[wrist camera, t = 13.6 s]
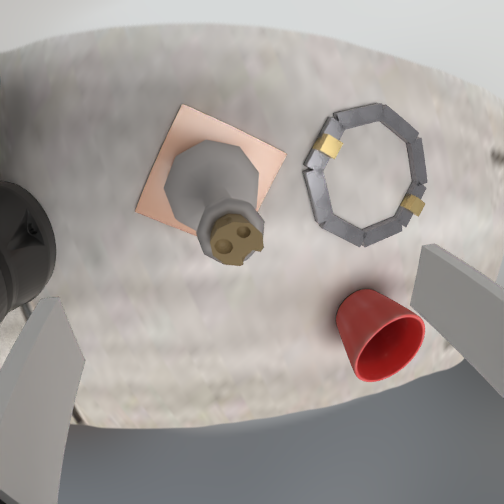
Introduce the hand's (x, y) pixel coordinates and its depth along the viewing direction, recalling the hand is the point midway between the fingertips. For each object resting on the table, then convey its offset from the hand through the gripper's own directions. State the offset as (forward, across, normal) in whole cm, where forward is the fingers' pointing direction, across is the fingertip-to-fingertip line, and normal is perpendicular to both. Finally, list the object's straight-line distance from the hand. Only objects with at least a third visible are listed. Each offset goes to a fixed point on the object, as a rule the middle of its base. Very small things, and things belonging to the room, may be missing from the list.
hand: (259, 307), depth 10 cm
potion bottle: (+24, 0, 0) cm, 24 cm away
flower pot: (+24, +20, -21) cm, 37 cm away
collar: (+24, +20, -1) cm, 31 cm away
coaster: (+24, 0, 0) cm, 24 cm away
